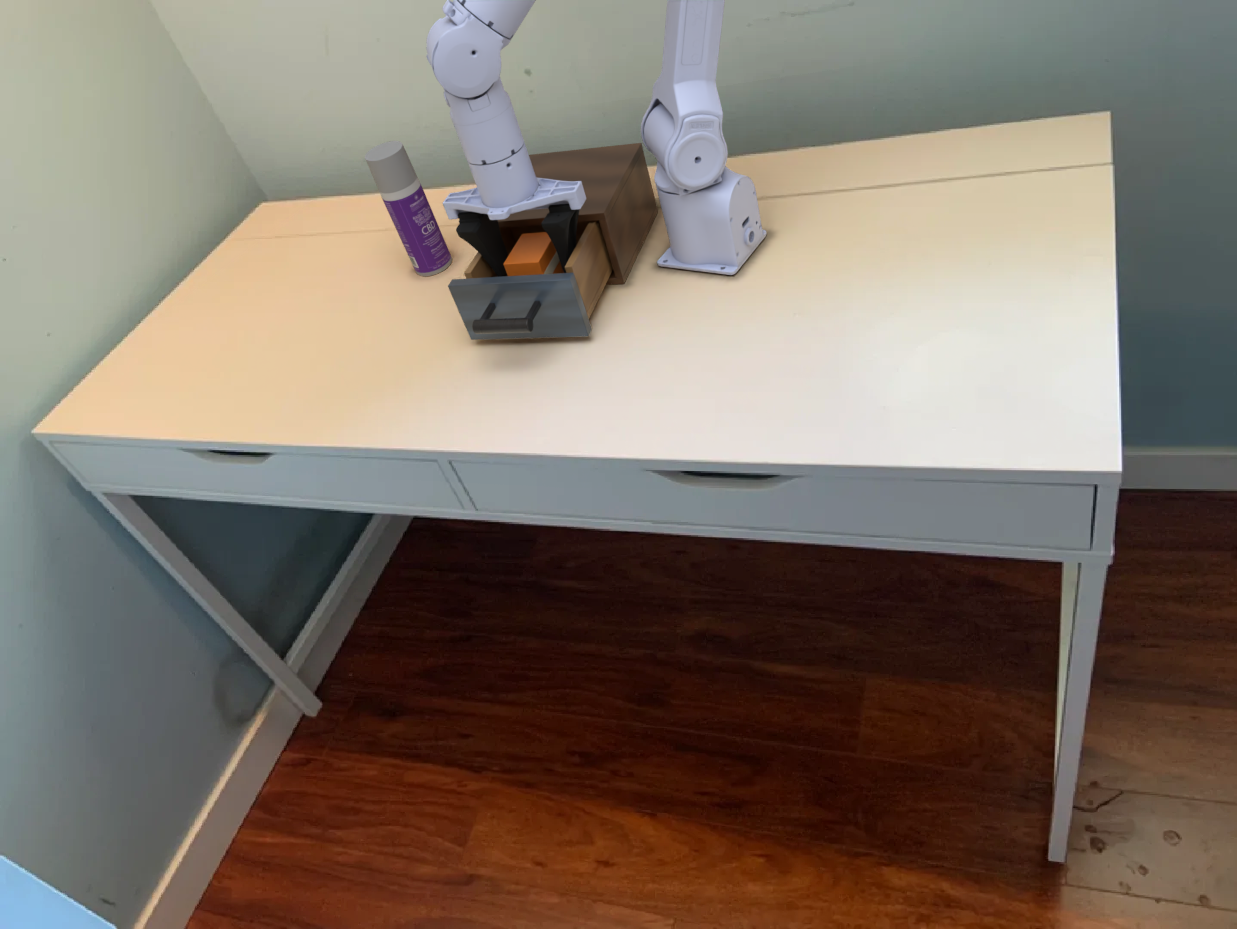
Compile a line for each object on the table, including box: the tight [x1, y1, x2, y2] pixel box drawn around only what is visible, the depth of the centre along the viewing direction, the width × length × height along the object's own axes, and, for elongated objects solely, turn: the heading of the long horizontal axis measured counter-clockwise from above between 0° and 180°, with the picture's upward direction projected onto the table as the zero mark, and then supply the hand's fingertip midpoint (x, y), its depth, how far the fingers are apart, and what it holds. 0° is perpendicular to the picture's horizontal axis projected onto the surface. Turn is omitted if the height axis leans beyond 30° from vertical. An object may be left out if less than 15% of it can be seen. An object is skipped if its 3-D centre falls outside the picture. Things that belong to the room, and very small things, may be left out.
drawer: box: [447, 220, 613, 341], centre depth 99 cm, size 18×13×7 cm
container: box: [364, 140, 453, 277], centre depth 111 cm, size 5×5×15 cm
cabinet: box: [498, 142, 659, 286], centre depth 107 cm, size 15×15×9 cm
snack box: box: [503, 232, 564, 276], centre depth 100 cm, size 6×4×6 cm
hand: (538, 271), depth 100 cm, fingers open, 7 cm apart
